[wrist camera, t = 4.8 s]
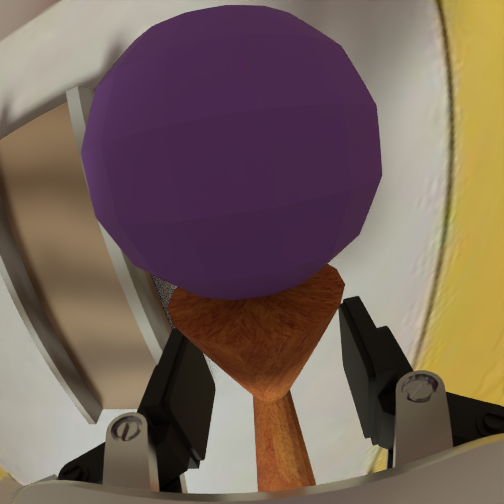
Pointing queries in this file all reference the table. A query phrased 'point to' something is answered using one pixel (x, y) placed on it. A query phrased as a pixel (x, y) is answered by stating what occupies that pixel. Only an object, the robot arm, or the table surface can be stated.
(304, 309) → the kendama
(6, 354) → the table surface
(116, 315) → the rail cradle
